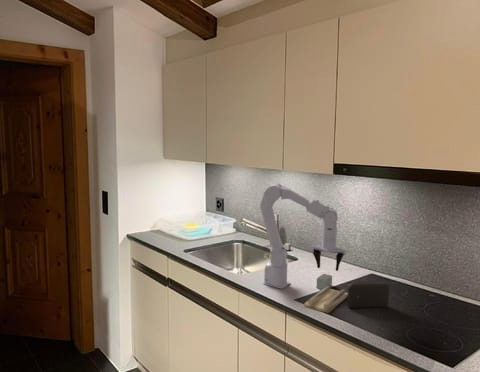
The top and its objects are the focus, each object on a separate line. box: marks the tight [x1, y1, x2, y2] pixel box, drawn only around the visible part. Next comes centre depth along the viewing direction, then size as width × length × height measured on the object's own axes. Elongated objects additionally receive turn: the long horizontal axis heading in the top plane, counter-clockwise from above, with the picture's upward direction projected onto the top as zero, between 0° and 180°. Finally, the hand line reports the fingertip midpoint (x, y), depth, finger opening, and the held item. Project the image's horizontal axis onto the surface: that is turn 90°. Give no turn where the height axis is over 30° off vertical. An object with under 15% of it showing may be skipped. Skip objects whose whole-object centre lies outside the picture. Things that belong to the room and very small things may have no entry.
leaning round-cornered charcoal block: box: [346, 280, 391, 309], centre depth 154 cm, size 16×5×9 cm, turn 96°
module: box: [315, 273, 333, 290], centre depth 173 cm, size 4×7×5 cm, turn 144°
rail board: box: [303, 286, 348, 314], centre depth 159 cm, size 10×20×2 cm, turn 144°
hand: (327, 268), depth 169 cm, fingers open, 7 cm apart
